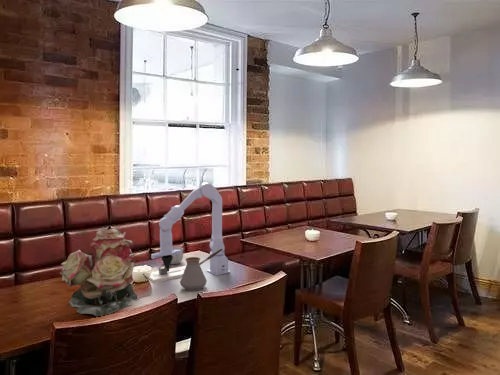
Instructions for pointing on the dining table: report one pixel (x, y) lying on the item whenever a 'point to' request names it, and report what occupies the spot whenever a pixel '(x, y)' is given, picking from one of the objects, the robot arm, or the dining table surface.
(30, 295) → the dining table surface
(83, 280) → the rose bouquet
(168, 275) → the plate
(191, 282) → the coffee pot
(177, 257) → the teacup
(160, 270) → the breaker handle
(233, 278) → the dining table surface
